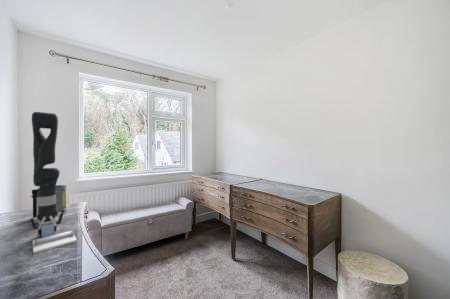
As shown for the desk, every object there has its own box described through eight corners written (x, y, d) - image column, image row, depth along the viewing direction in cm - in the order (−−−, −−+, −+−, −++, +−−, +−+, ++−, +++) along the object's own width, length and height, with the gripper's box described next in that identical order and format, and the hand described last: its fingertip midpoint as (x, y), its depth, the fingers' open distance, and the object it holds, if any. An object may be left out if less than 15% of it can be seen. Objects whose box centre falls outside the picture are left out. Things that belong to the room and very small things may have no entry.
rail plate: (32, 242, 99) (32, 237, 99) (71, 232, 111) (71, 228, 111) (33, 253, 88) (33, 248, 88) (76, 241, 100) (76, 236, 100)
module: (41, 234, 108) (41, 222, 108) (52, 231, 112) (52, 220, 112) (41, 238, 104) (41, 225, 104) (54, 235, 107) (54, 223, 107)
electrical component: (42, 219, 132) (42, 190, 132) (30, 218, 134) (30, 189, 134) (67, 211, 149) (67, 185, 149) (57, 210, 151) (57, 185, 151)
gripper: (63, 199, 116) (63, 228, 116) (29, 204, 105) (29, 235, 105) (64, 202, 110) (64, 231, 110) (29, 207, 100) (29, 240, 100)
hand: (47, 233), depth 108 cm, fingers closed on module, 5 cm apart
